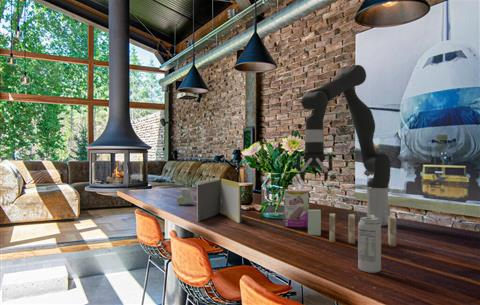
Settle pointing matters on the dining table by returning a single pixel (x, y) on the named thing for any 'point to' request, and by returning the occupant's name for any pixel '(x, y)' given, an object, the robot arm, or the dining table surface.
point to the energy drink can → (369, 245)
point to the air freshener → (185, 197)
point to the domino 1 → (314, 222)
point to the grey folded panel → (218, 199)
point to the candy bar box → (296, 208)
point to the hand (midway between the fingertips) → (314, 181)
